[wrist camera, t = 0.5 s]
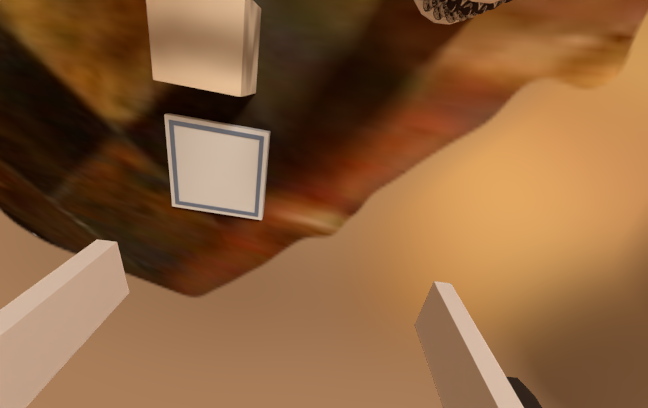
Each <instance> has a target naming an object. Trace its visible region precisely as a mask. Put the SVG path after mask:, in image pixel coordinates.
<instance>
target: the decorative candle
mask: <svg viewBox="0 0 648 408" xmlns="http://www.w3.org/2000/svg"><path fill="white" fill-rule="evenodd" d="M413 1H414V2H415V4H416V6H417V8H418V10H419V11H420V13H421V14H422V15H423V16H425V17H426V18H428V19H429V20H430V21H432V22H433V23H439V24H448V25H450V24H453V23H456V22H459V21H465V20H466V19H467V18H469V19H470V18H473V17H474V16H475V15H478V14H482V13H484V12H486V11H488V10H492V9H494V8H496V7H497V6H499V5H500V4H501V3H502V2H504V3H507V2H510V1H511V0H413Z"/></svg>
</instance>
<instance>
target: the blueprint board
mask: <svg viewBox="0 0 648 408" xmlns="http://www.w3.org/2000/svg"><path fill="white" fill-rule="evenodd" d="M164 118H165V130H166V141H167V153H168V164H169V176H170V187H171V198H172V206H173V207H179V208H186V209H192V210H199V211H205V212H211V213H218V214H224V215H231V216H237V217H244V218H250V219H256V220H262V218H263V213H264V201H265V189H266V178H267V166H268V154H269V142H270V131H266V130H260V129H255V128H249V127H244V126H238V125H232V124H227V123H221V122H216V121H210V120H205V119H199V118H193V117H188V116H182V115H177V114H171V113H167V114H164Z"/></svg>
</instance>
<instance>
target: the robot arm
mask: <svg viewBox="0 0 648 408" xmlns="http://www.w3.org/2000/svg"><path fill="white" fill-rule="evenodd" d="M128 293H129V289H128V285H127V281H126V277H125V273H124V269H123V265H122V260H121V256H120V252H119V248H118V244H117V242H113V241H105V240H96V241H94V242H93V243H91V244H90V245H89V246H87V247H86V248H85V249H83V250H82V251H80V252H79V253H78V254H76V255H75V256H74V257H72V258H71V259H69V260H68V261H67V262H65V263H64V264H62V265H61V266H60V267H58V268H57V269H56V270H54V271H53V272H51V273H50V274H49V275H47V276H46V277H45V278H43V279H42V280H40V281H39V282H38V283H37V284H35V285H33V286H32V287H31V288H29V289H28V290H27V291H25V292H24V293H22V294H21V295H20V296H18V297H17V298H16V299H14V300H13V301H11V302H10V303H9V304H7V305H6V306H4V307H3V308H2V309H0V408H26V407H27V406H28V405H29V404H30V402H31V401H32V400H33V399H34V398H35V397H36V396H37V395H38V394H39V392H40V391H41V390H42V389H43V388H44V387H45V386H46V385H47V384H48V382H49V381H50V380H51V379H52V378H53V377H54V376H55V375H56V374H57V372H58V371H59V370H60V369H61V368H62V367H63V366H64V365H65V364H66V362H67V361H68V360H69V359H70V358H71V357H72V356H73V355H74V354H75V352H76V351H77V350H78V349H79V348H80V347H81V346H82V345H83V344H84V342H85V341H86V340H87V339H88V338H89V337H90V336H91V335H92V334H93V332H94V331H95V330H96V329H97V328H98V327H99V326H100V325H101V324H102V322H103V321H104V320H105V319H106V318H107V317H108V316H109V315H110V314H111V312H112V311H113V310H114V309H115V308H116V307H117V306H118V305H119V304H120V302H121V301H122V300H123V299H124V298H125V297H126V296H127V295H128ZM415 328H416V331H417V334H418V337H419V340H420V343H421V345H422V348H423V351H424V354H425V357H426V360H427V363H428V365H429V369H430V371H431V374H432V377H433V380H434V383H435V386H436V389H437V392H438V395H439V397H440V400H441V403H442V406H443V408H542V407H541V405H540V404H539V402H538V401H537V399H536V397H535V396H534V395H533V394H532V393H531V392H530V391H529V390H528V388H526V386H525V385H524V384H523V383H522V382H521V381H520V380H519V379H518V378H513V377H506V376H505V375H504V373H503V371H502V369H501V368H500V366H499V364H498V363H497V361H496V359H495V357H494V356H493V354H492V352H491V351H490V349H489V347H488V346H487V344H486V342H485V340H484V339H483V337H482V335H481V334H480V332H479V330H478V329H477V327H476V325H475V323H474V322H473V320H472V318H471V317H470V315H469V313H468V312H467V310H466V308H465V306H464V305H463V303H462V301H461V300H460V298H459V296H458V295H457V293H456V291H455V289H454V288H453V286H452V284H451V283H442V282H435V281H434V282H433V285H432V287H431V289H430V291H429V293H428V296H427V298H426V300H425V303H424V305H423V307H422V309H421V312H420V314H419V316H418V319H417V321H416V323H415Z"/></svg>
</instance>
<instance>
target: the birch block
mask: <svg viewBox="0 0 648 408" xmlns="http://www.w3.org/2000/svg"><path fill="white" fill-rule="evenodd" d="M146 7H147V18H148V29H149V40H150V51H151V62H152V73H153V80H157V81H162V82H167V83H172V84H177V85H182V86H187V87H192V88H197V89H202V90H207V91H212V92H218V93H223V94H228V95H233V96H238V97H243V96H247V95H251V94H255V93H256V80H257V65H258V50H259V35H260V20H261V8H260V7H259V6H258V5H257V4H256V3H255V2H254V1H253V0H146Z"/></svg>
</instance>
